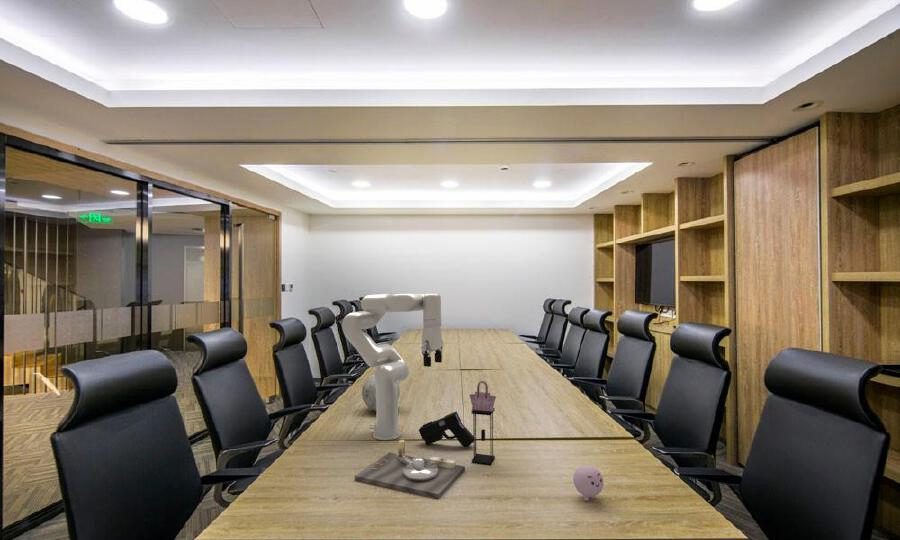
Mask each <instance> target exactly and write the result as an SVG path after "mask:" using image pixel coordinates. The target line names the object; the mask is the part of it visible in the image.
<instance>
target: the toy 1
mask: <svg viewBox="0 0 900 540" xmlns="http://www.w3.org/2000/svg"><path fill="white" fill-rule="evenodd" d="M446 431H450V432H451V433H452V434H453V435H452V436H451V435H448V434H447V433H446ZM418 432H419V434H420V435H419V436H420V437H421V439H422V441H424V443H425V445H426V446H430V445H432V444H434V443H436V442H438V441H441V440H443V438H445V439H446V440H453V439H456V440H457V441H458V442H459V444H460V445H461V446H462V447H463V448H464V449H468V448H469V446H471V445H472V444H474V434H472V433H471V432H470V430H469V429H468V428H467V427H466V426H465V424H463V422H462V420H461V417H460V416H459V414H458V411H453V412H452V413H448V414H447V415H444V416H443V417H442V418H439V419H437V420H433V421H429V422H427V423H424V424H423V425H422V426H420V428H419V429H418Z"/></svg>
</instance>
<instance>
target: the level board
mask: <svg viewBox="0 0 900 540" xmlns="http://www.w3.org/2000/svg"><path fill="white" fill-rule="evenodd" d="M396 454H397V453H393V452H388V453H386V454H385V455H383V456H382V457H380V458H379V459H378V460H376V461H374V462H373V463H372V464H369V465H368V466H367V467H365V468H364V469H363V470H361V471H360V472H358V473H357V474H355V475H354V481H357V482H362V483H366V484H369V485H374V486H379V487H384V488H389V489H393V490H396V491H401V492H404V493H405V492H406V493H410V494H415V495H419V496H424V497H429V498H432V499H437V500H439V499H440V498H441V497H442V496H443V495H444V494H445V493H446V491H447V490H448V489H450V487H451V486H452V485H453V484H454V483H455V482H456V481H457V480H458V479H459V478H460V476H461V475H463V474H464V472H465V471H466V466H464V465H459V464H457V461H456V460H453V459H447V458H442V457H437V456H436V457H435V456H430V457H428V459H426V458H424V462H430V463H433V464H435V465H437V466H438V475H437V476H436V477H435V478H433V479H431V480H427V481H412V480H409V479H407V478H405V477H404V471H403V470H404V467H405V466H406V465H405V464H404V463H402V462H401V461H400V459H399V458H397V457H396ZM405 457H406V458H408V459H410V460H411V461H413V458H414V457H415V456H411V455H406V454H405Z"/></svg>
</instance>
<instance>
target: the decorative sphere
mask: <svg viewBox="0 0 900 540" xmlns="http://www.w3.org/2000/svg"><path fill="white" fill-rule="evenodd" d="M395 387H396V390H397V393H398V399H399V398H400V394H401V393H400V392H401V388H400V384H399V382H398V383H395ZM361 389H362V390H361V397H362V400H363V402H364V404H365V405H366V406H367V408H368V409H370V410H372V411H374V412H376V385H375V380H374V373H372V374H371V375H369V377H368V378H367V379H366V380H365V382H364V384H363V385H362V388H361Z"/></svg>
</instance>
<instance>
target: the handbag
mask: <svg viewBox="0 0 900 540" xmlns="http://www.w3.org/2000/svg"><path fill="white" fill-rule="evenodd" d="M487 383H488V382H486V381H484V380H480V381H479V382H478V383H477V385H476V388H477V389H476V391H474V393H473V394H472V393H471V394H469V399H470V403H471V411H470V412H471V413H470V414H472V415H473V420H472V421H473V425H472V426H473V436H474V442H473V458H472V459H471V464H476V465H481V466H492V464H493V462H494V461H495V459H496V456H495V455H494V415H493V414H494V412H495V407H494V406H495V401H496V399H497V396H495V395H491V392H489V388H488V387H489V386H488V384H487ZM481 384H483V385H484V387H485V392H484V391H480V385H481ZM477 415H480V416H481V415H482V416H489V417H490V419H489V421H490V426H489V427H490V428H489V430H490V432H489V433H490V442H489V443H490V445H491V448H490V455H489V454H482V453H477ZM480 435H481V436H480V437H481V439H480V440H481V441H482V442H485V441H486V429H481V431H480Z"/></svg>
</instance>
